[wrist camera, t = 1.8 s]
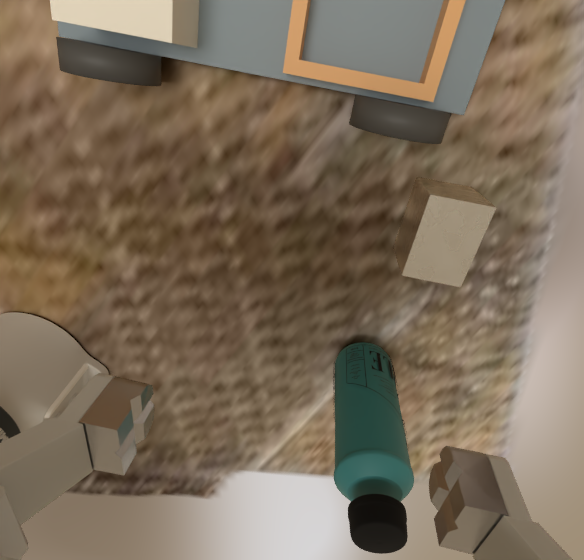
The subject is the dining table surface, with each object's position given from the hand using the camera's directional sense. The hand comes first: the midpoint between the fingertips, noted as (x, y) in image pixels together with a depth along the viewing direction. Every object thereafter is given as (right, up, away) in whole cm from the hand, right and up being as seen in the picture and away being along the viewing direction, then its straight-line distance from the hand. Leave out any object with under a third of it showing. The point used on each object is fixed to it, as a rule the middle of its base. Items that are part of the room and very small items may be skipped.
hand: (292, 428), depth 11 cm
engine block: (+13, +10, +25) cm, 30 cm away
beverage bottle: (+8, -4, +33) cm, 34 cm away
